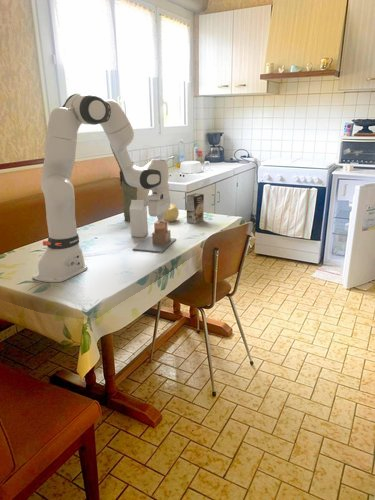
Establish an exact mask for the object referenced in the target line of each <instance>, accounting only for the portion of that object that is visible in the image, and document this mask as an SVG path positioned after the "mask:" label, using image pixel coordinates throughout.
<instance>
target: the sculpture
mask: <svg viewBox="0 0 375 500" xmlns="http://www.w3.org/2000/svg"><path fill="white" fill-rule="evenodd" d="M179 213H180V212H179V209H178V207H177V206H176V204H174V203H170V208H169V209H167V210H166V211H164V217H163V221H167V223H171V222H174V221H176V220H177V219H179V215H180V214H179Z"/></svg>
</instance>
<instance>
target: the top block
mask: <svg viewBox="0 0 375 500" xmlns="http://www.w3.org/2000/svg"><path fill="white" fill-rule="evenodd" d="M153 225H154V227H153V228H154V231H155V233H163V234H164V233H165V232H167V231H168V230H169V229H168V228H169V227H168V222H167V221H161V222H158V220H157V221H155V222H154V223H153Z"/></svg>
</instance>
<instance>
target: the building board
mask: <svg viewBox="0 0 375 500" xmlns="http://www.w3.org/2000/svg"><path fill="white" fill-rule="evenodd" d="M176 241H177V238H173V237H171V230H169V229H168V231H167V232H165V233H164V234H163V233H155V230H154V231H153V232H152V233H151V236H149V235H148V236H147V237H146V238H144V239H143V240H141V242H139V243H137V245H135V246H134V247H132V249H131V250H132V251H137V252H147V253H148V252H149V253H157V254H163V253H164V252H165V251H166V250H167V249H168V248H170V246H171V245H172V244H174V242H176Z"/></svg>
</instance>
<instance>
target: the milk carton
mask: <svg viewBox="0 0 375 500" xmlns="http://www.w3.org/2000/svg"><path fill="white" fill-rule="evenodd" d="M146 204H147V203H146V202H145V199H137V200H131V205H130V221H129V223H130V234H131V236H130V237H132V238H133V237H135V238H136V237H137V238H144V237H146V236H147V235H148V234H149V228H148V227H149V226H148V225H149V224H148V205H146Z"/></svg>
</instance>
